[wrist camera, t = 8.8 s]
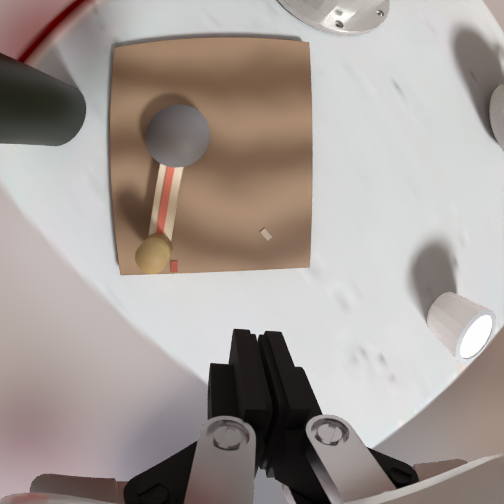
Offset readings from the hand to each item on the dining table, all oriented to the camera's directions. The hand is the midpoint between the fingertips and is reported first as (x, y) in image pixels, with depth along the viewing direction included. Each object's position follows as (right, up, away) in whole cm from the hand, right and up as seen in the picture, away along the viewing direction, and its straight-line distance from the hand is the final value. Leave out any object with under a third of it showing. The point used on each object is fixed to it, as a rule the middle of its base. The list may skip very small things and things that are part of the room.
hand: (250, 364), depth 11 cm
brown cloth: (-3, +12, +14) cm, 19 cm away
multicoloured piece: (-7, +10, +13) cm, 18 cm away
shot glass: (+24, -3, +22) cm, 33 cm away
